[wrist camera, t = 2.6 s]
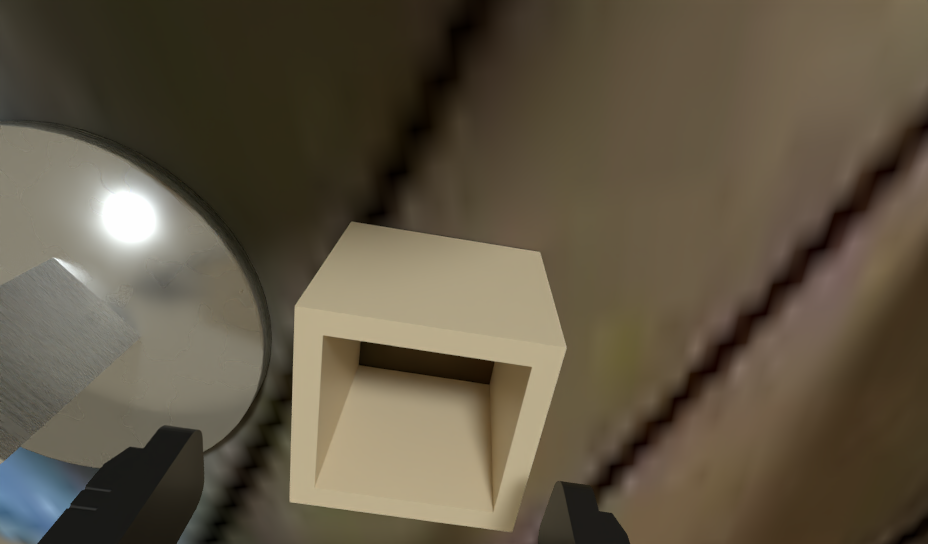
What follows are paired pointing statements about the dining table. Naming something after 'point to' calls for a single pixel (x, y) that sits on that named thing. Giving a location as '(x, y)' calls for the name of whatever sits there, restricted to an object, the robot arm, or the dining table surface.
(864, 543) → the dining table surface
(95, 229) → the duct stub
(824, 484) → the dining table surface
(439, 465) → the collar
